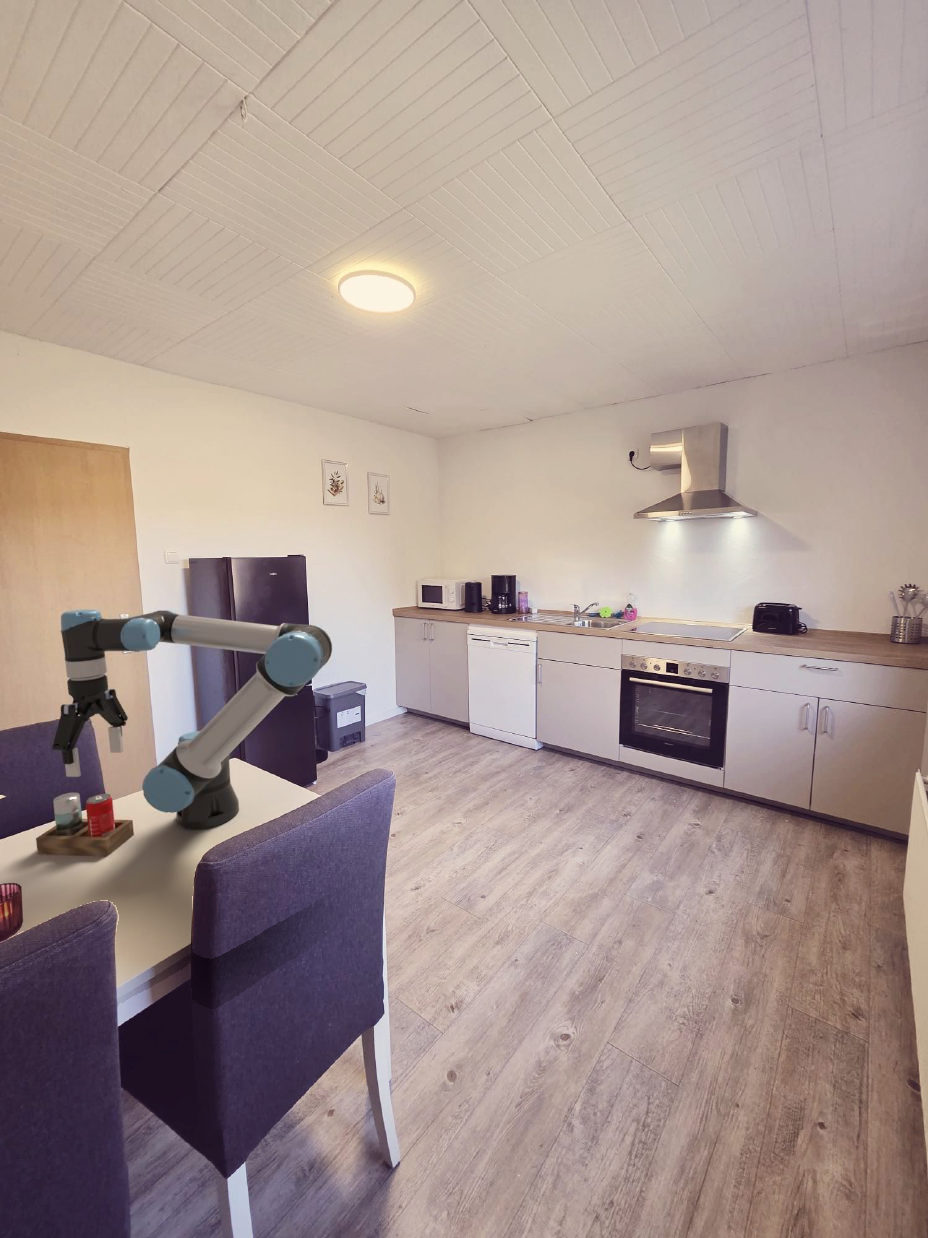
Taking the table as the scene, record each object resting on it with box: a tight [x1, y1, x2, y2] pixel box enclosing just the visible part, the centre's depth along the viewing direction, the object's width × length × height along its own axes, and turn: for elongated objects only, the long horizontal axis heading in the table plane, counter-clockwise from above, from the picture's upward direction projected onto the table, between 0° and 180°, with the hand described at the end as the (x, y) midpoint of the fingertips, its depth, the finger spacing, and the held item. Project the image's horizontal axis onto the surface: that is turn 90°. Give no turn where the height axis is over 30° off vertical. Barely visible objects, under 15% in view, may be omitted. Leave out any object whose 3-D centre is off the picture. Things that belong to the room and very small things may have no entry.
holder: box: [35, 818, 135, 857], centre depth 124 cm, size 17×9×4 cm, turn 88°
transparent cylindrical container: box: [52, 792, 83, 836], centre depth 124 cm, size 5×5×12 cm
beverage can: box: [85, 793, 115, 837], centre depth 123 cm, size 5×5×12 cm
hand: (96, 763), depth 121 cm, fingers open, 13 cm apart
